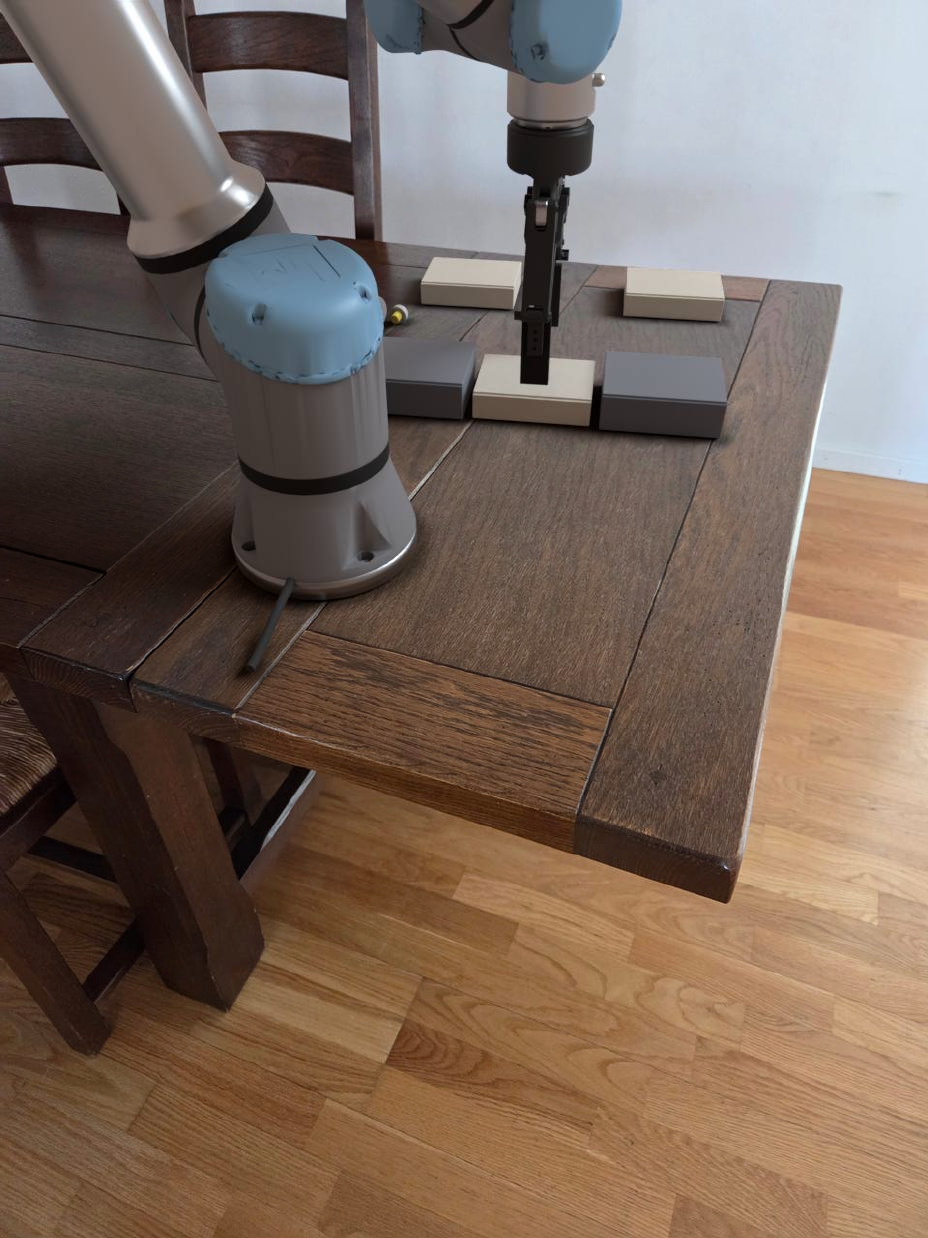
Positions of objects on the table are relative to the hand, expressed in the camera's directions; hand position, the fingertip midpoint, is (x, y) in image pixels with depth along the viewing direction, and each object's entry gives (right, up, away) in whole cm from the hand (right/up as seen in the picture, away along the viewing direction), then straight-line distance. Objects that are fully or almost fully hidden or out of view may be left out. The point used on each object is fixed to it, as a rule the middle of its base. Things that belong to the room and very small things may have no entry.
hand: (540, 352), depth 88 cm
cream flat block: (-7, +16, +26) cm, 31 cm away
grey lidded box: (-13, -3, +5) cm, 14 cm away
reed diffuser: (-25, +12, +22) cm, 35 cm away
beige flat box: (0, -4, +3) cm, 5 cm away
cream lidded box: (+19, +13, +23) cm, 33 cm away
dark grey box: (+13, -5, +2) cm, 14 cm away
